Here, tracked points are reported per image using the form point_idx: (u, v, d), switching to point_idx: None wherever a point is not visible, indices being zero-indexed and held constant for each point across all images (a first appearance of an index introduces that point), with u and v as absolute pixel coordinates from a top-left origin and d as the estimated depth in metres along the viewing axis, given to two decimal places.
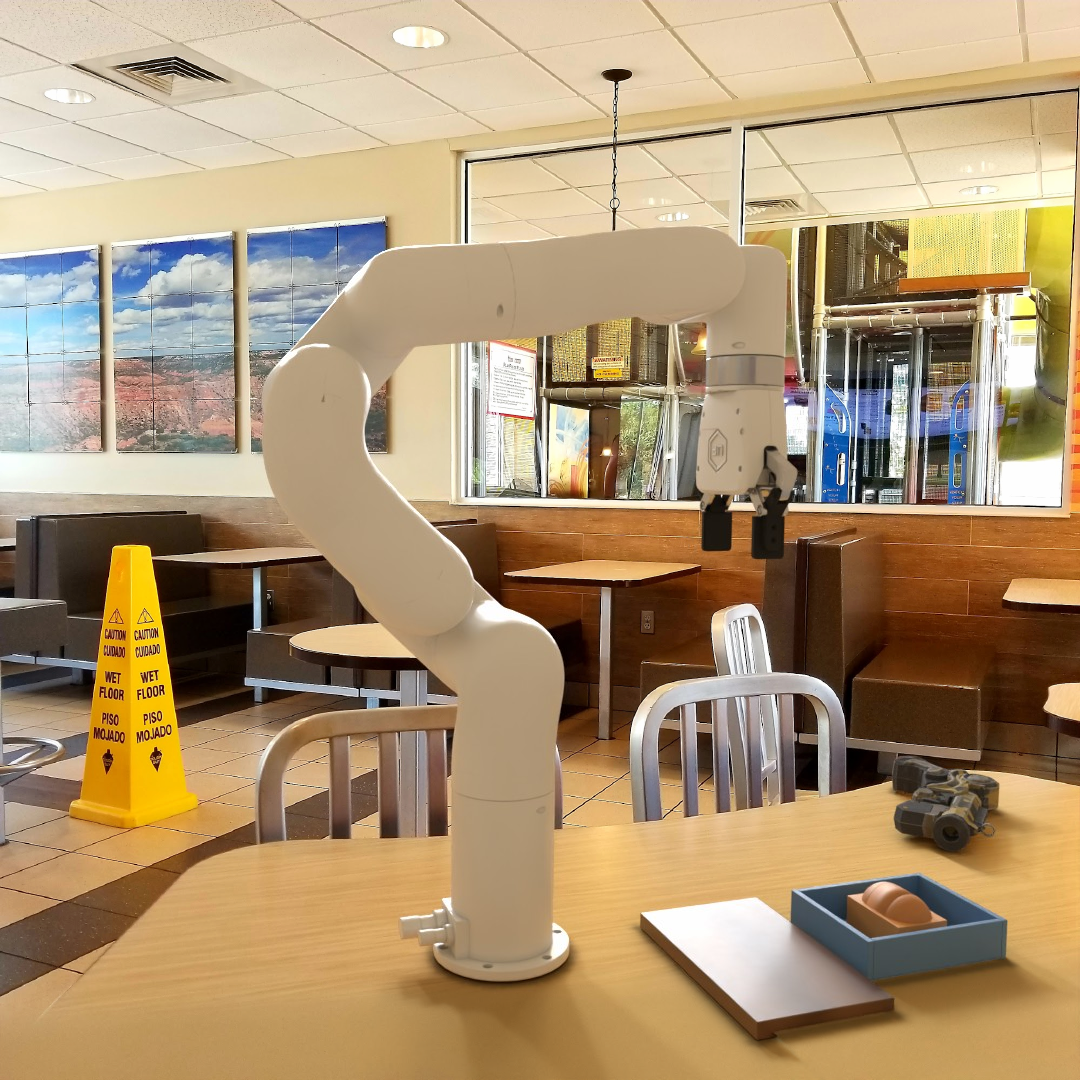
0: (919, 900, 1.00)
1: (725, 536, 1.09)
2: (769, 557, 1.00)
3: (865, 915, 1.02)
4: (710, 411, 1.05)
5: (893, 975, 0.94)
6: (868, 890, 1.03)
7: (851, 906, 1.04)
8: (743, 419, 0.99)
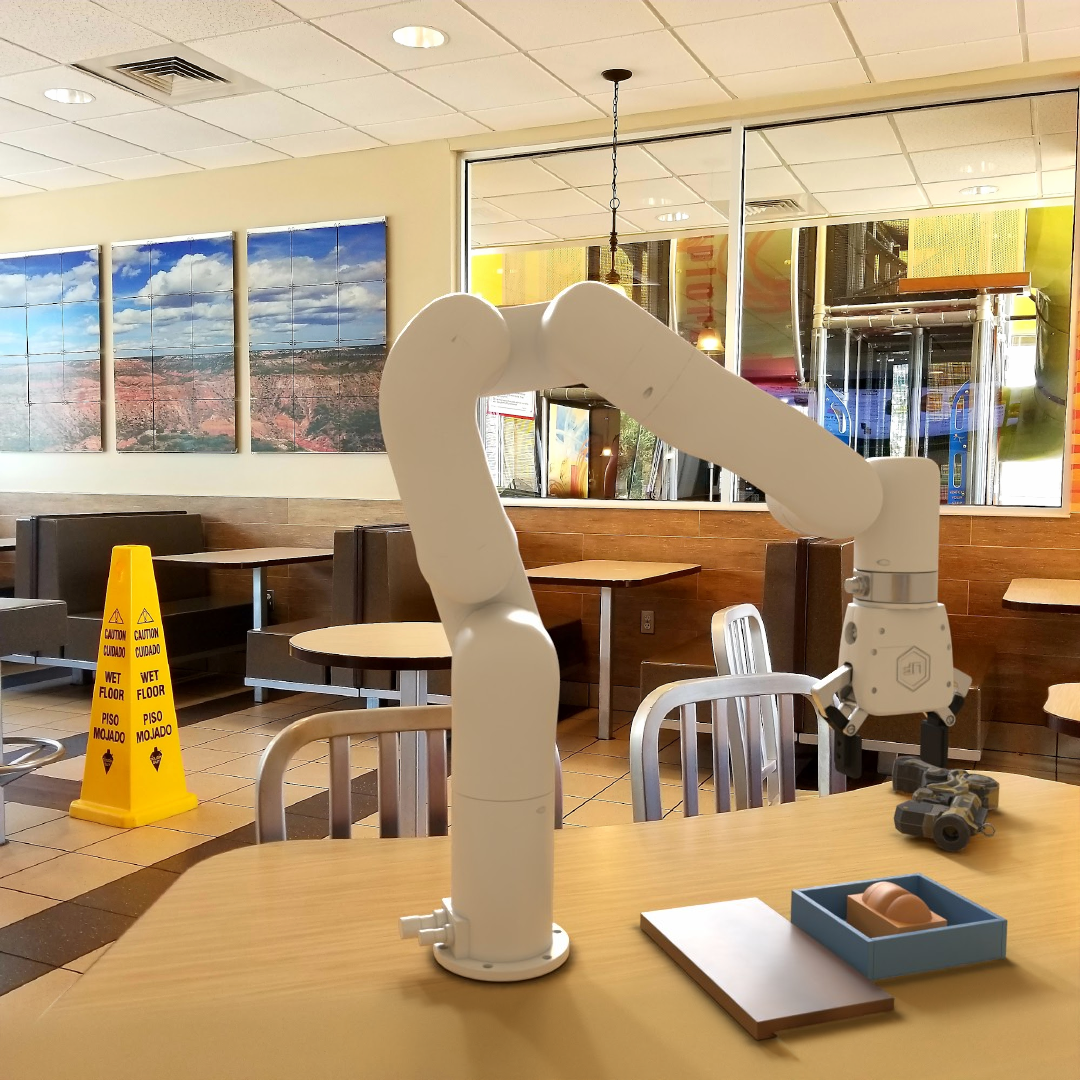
0: (919, 900, 1.00)
1: None
2: None
3: (865, 915, 1.02)
4: (898, 628, 0.97)
5: (893, 975, 0.94)
6: (868, 890, 1.03)
7: (851, 906, 1.04)
8: (949, 634, 0.99)
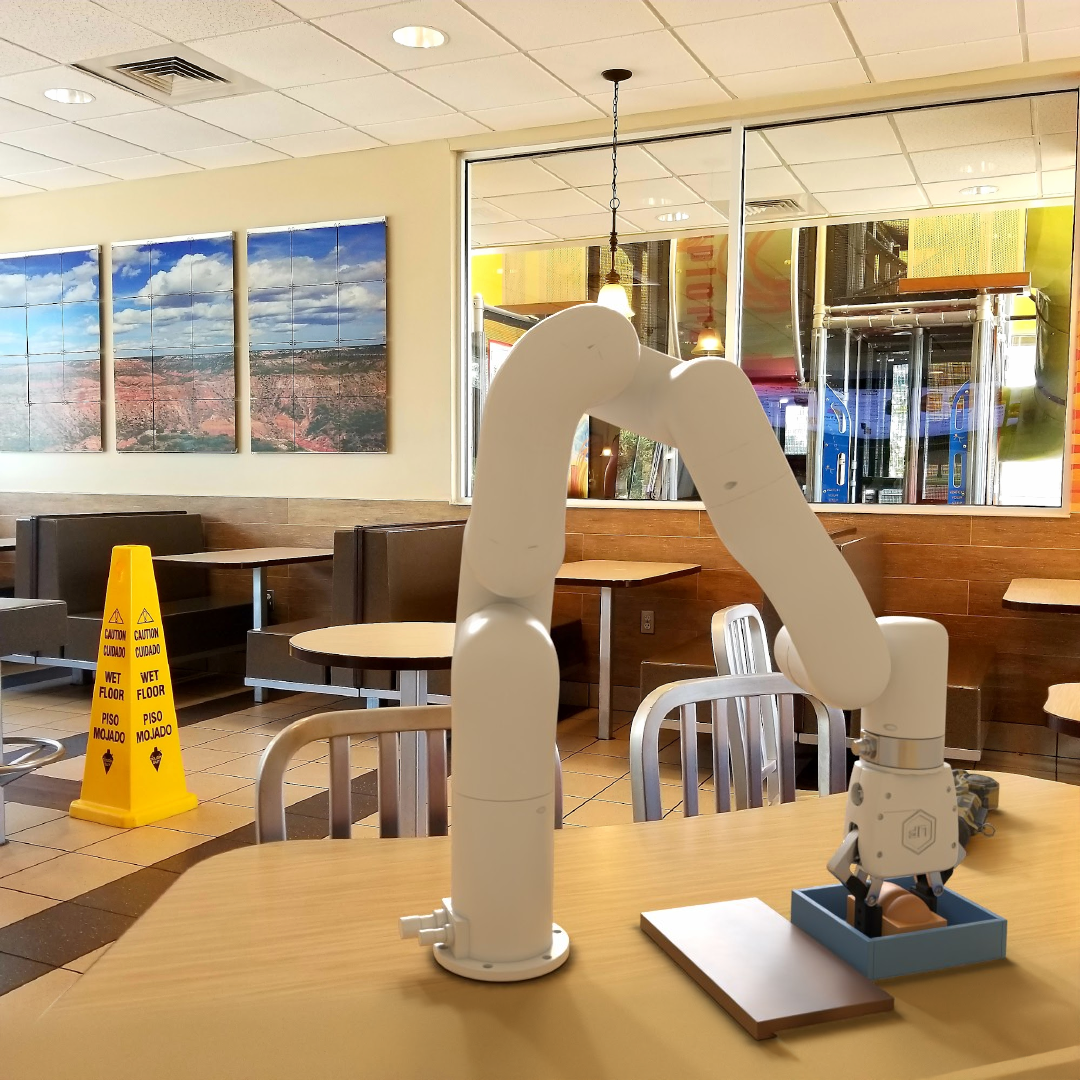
0: (919, 900, 1.00)
1: None
2: None
3: None
4: (904, 792, 0.98)
5: (893, 975, 0.94)
6: None
7: (851, 906, 1.04)
8: (955, 796, 1.00)
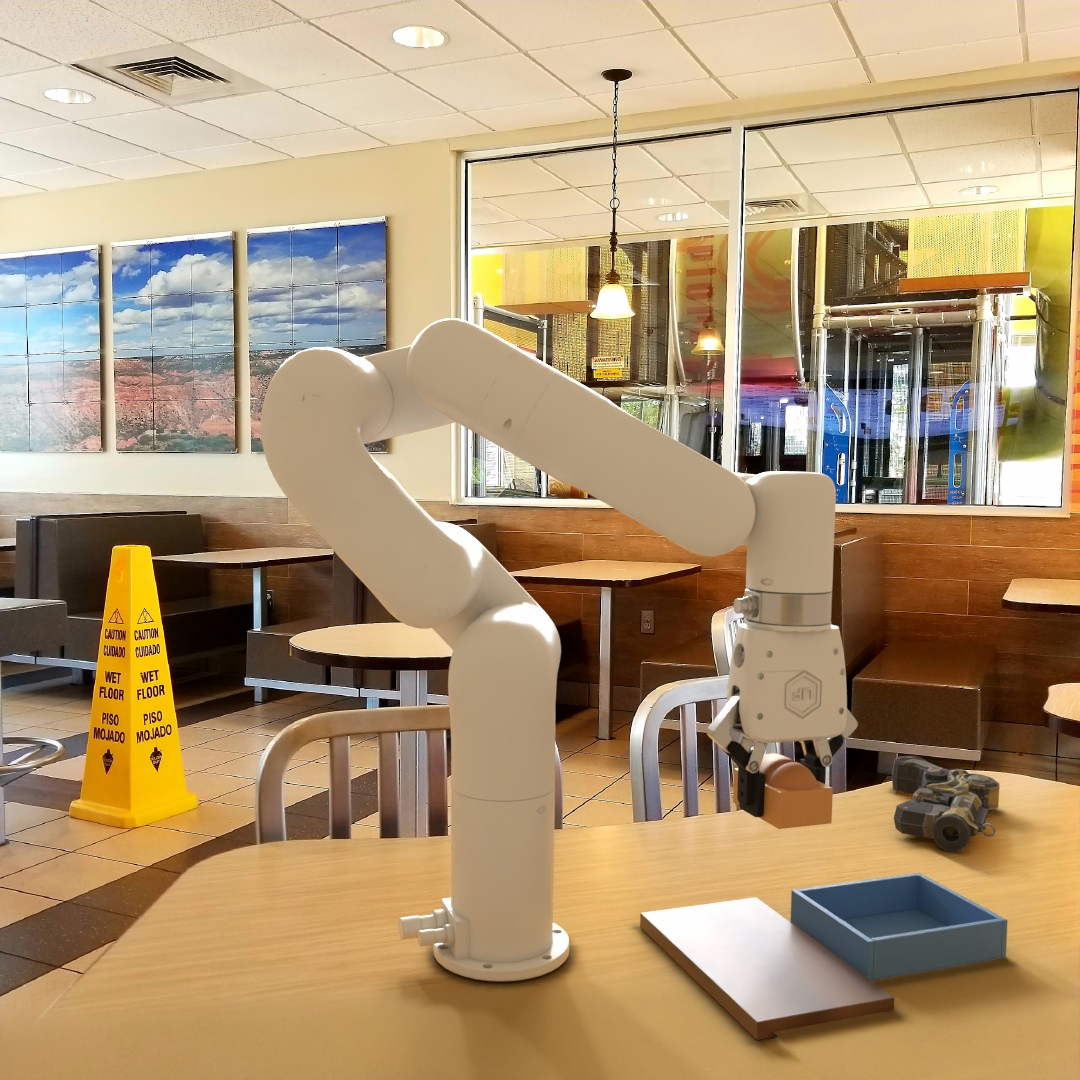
0: (804, 767, 0.95)
1: None
2: None
3: None
4: (786, 651, 0.93)
5: (893, 975, 0.94)
6: None
7: (737, 779, 0.99)
8: (842, 659, 0.95)
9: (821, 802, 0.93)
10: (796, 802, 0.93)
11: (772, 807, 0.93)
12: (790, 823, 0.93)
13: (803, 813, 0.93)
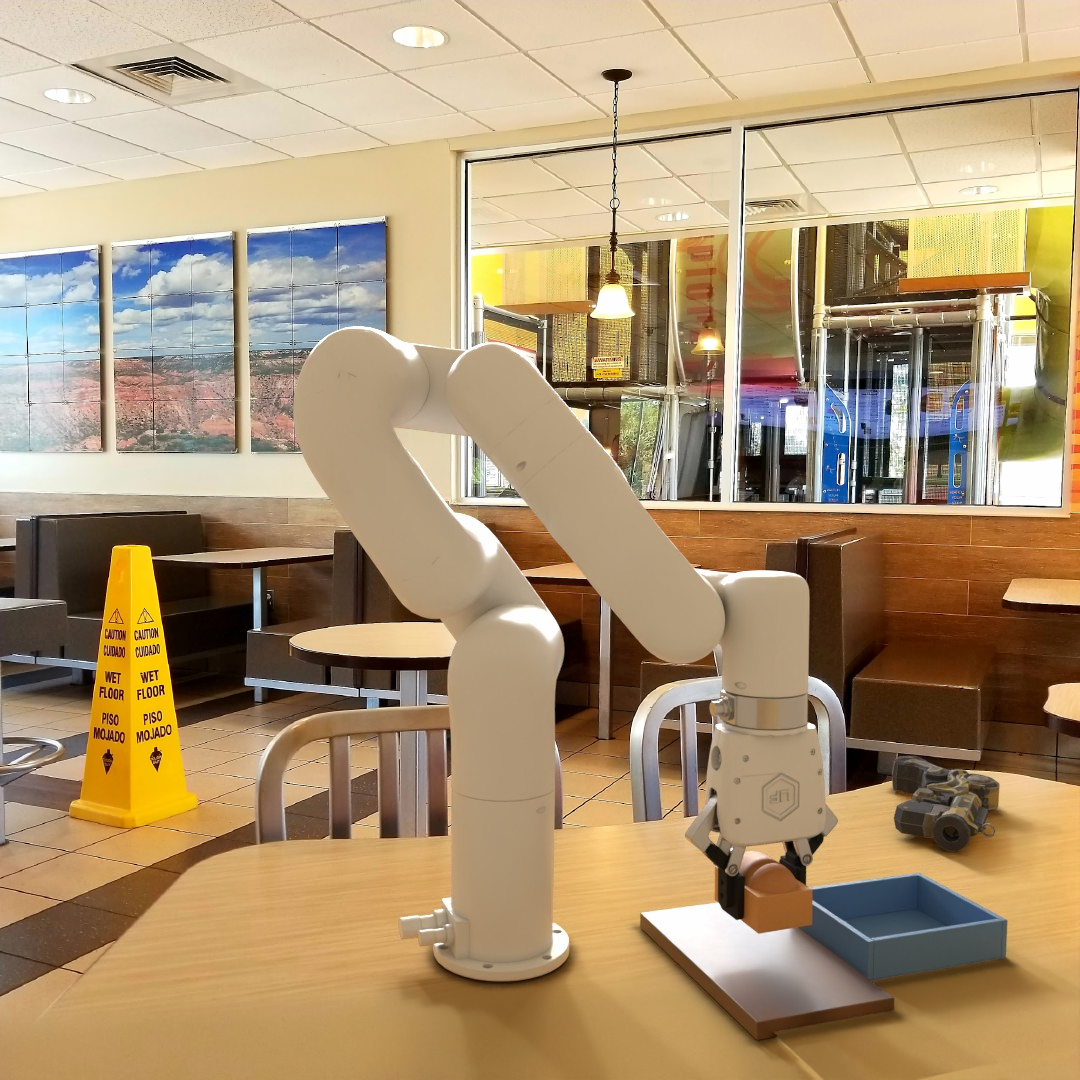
0: (784, 869, 0.94)
1: None
2: None
3: None
4: (763, 754, 0.92)
5: (893, 975, 0.94)
6: None
7: None
8: (820, 759, 0.95)
9: (801, 905, 0.93)
10: (775, 906, 0.92)
11: (752, 911, 0.93)
12: (770, 927, 0.92)
13: (783, 916, 0.93)
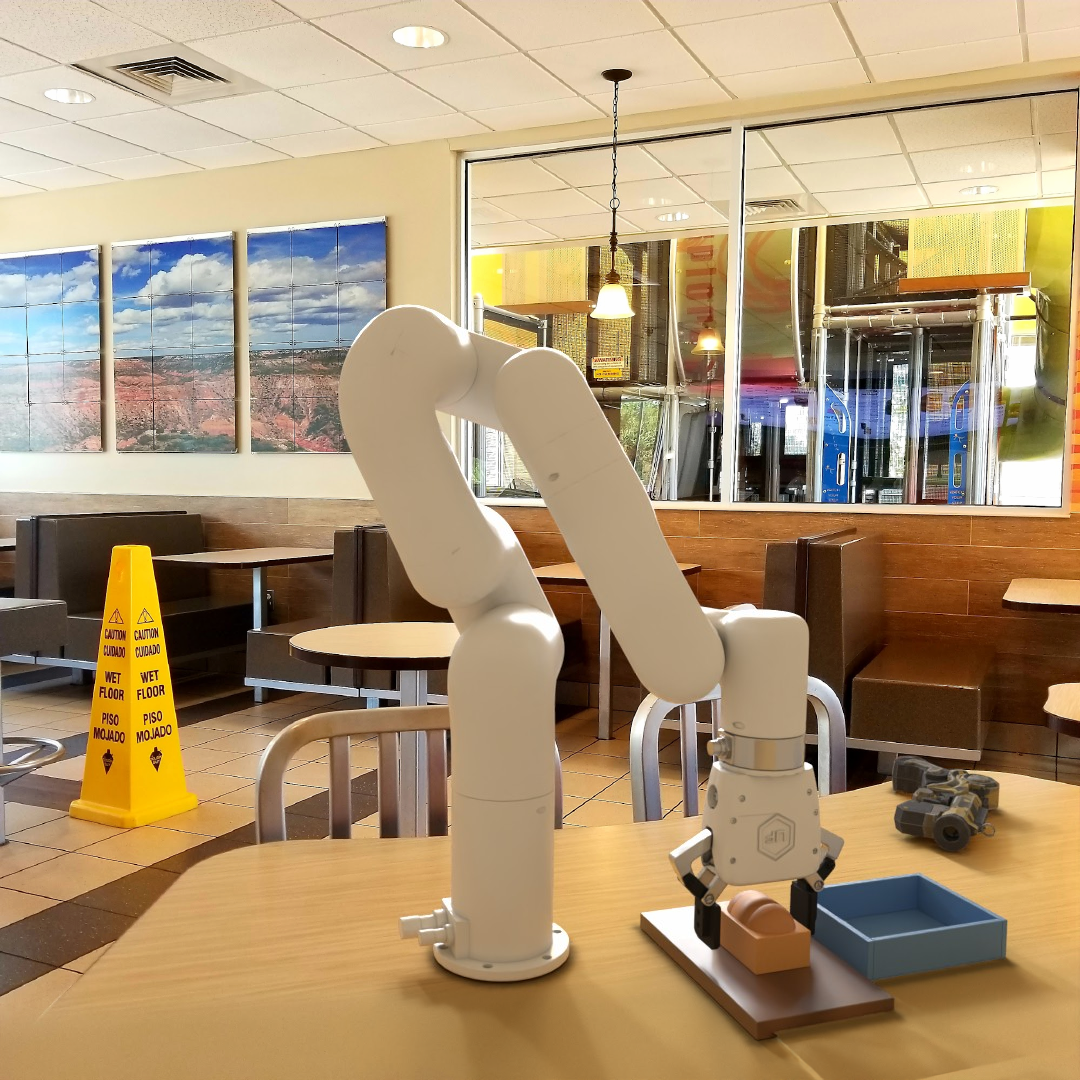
0: (782, 910, 0.95)
1: None
2: None
3: (728, 925, 0.97)
4: (759, 795, 0.93)
5: (893, 975, 0.94)
6: (733, 899, 0.98)
7: None
8: (816, 799, 0.95)
9: (799, 946, 0.93)
10: (773, 948, 0.93)
11: (750, 952, 0.93)
12: (768, 968, 0.93)
13: (781, 958, 0.93)
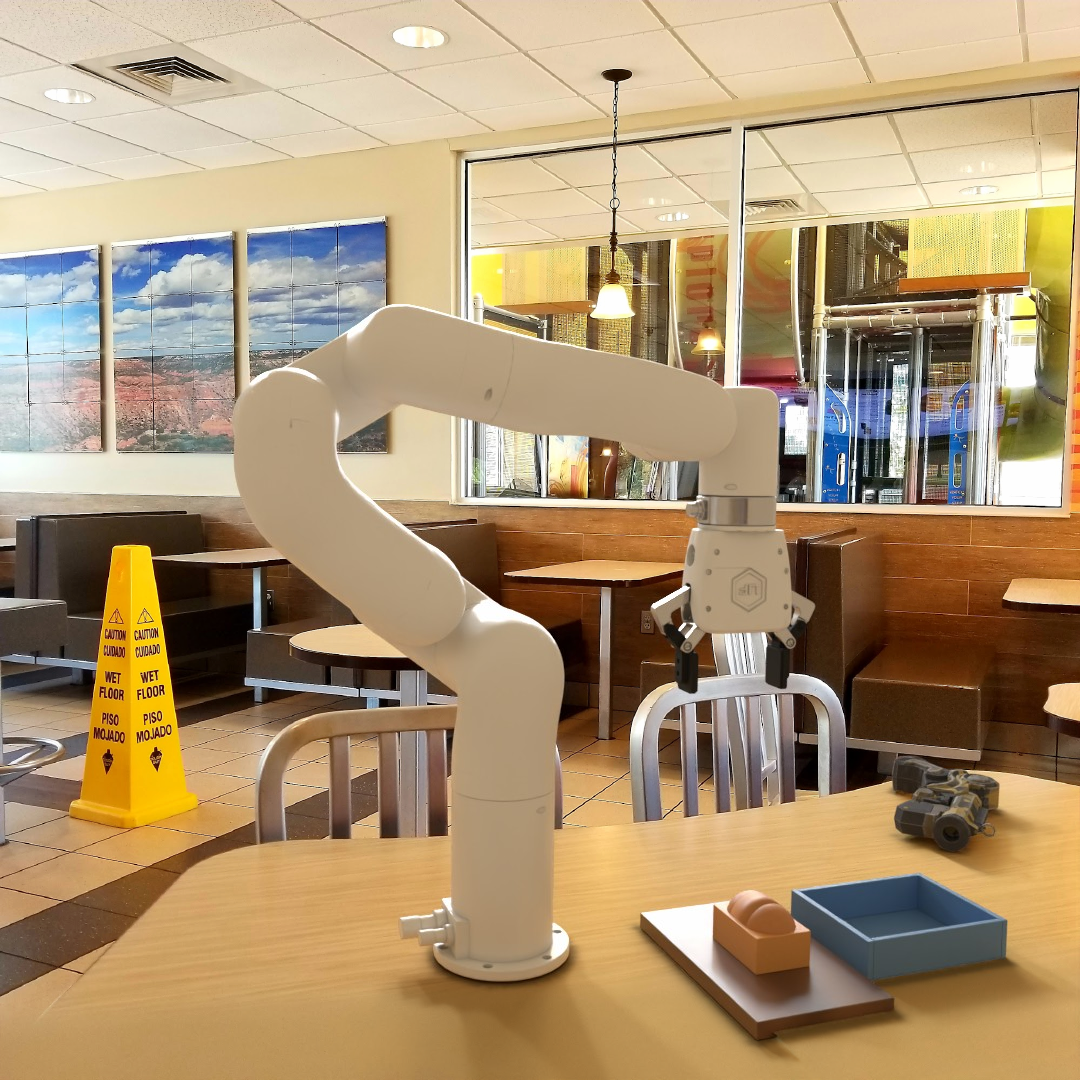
0: (782, 910, 0.95)
1: None
2: None
3: (728, 925, 0.97)
4: (733, 549, 1.01)
5: (893, 975, 0.94)
6: (733, 899, 0.98)
7: (716, 915, 0.99)
8: (787, 559, 1.04)
9: (799, 946, 0.93)
10: (773, 948, 0.93)
11: (750, 952, 0.93)
12: (768, 968, 0.93)
13: (781, 958, 0.93)
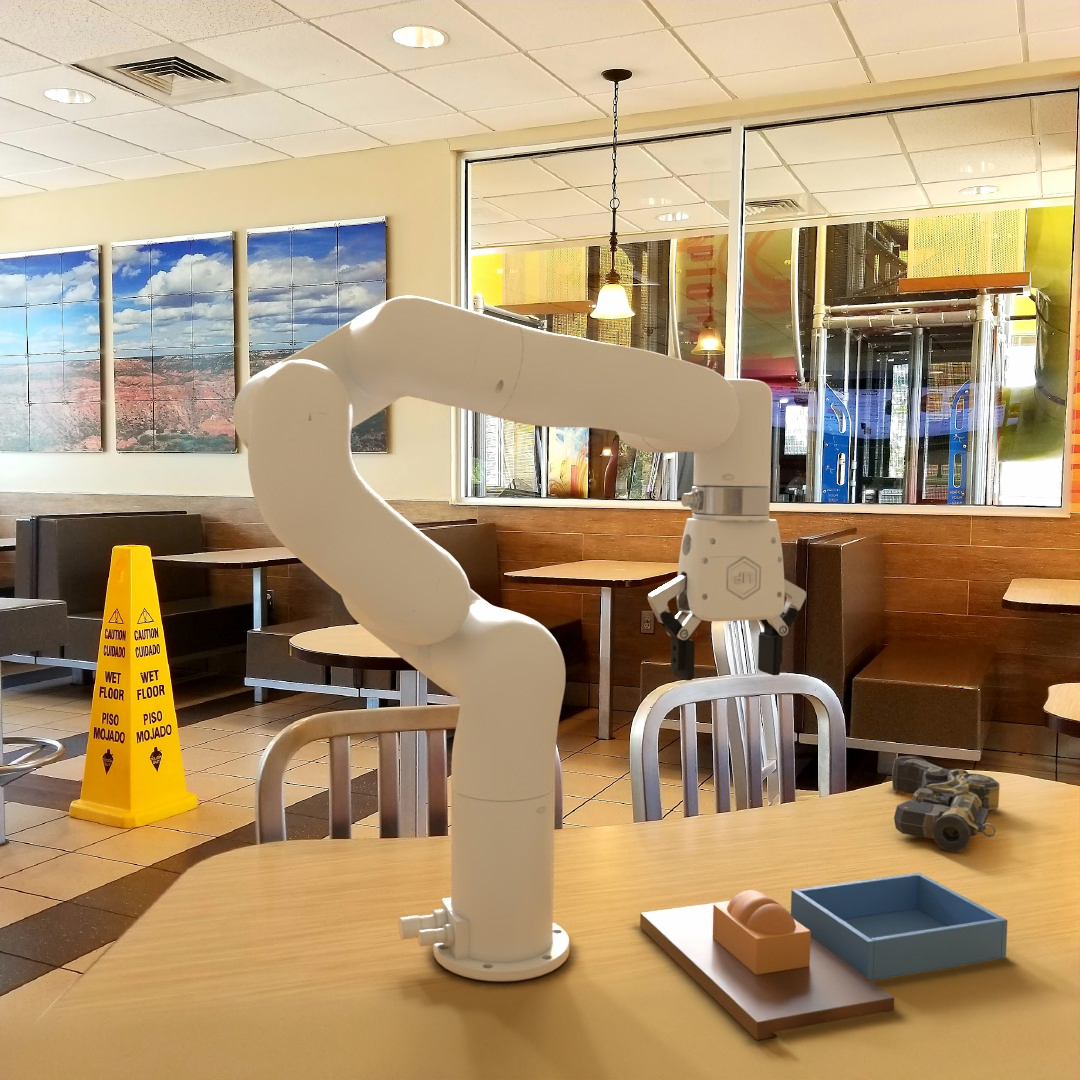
0: (782, 910, 0.95)
1: None
2: None
3: (728, 925, 0.97)
4: (728, 538, 1.04)
5: (893, 975, 0.94)
6: (733, 899, 0.98)
7: (716, 915, 0.99)
8: (780, 548, 1.06)
9: (799, 946, 0.93)
10: (773, 948, 0.93)
11: (750, 952, 0.93)
12: (768, 968, 0.93)
13: (781, 958, 0.93)
